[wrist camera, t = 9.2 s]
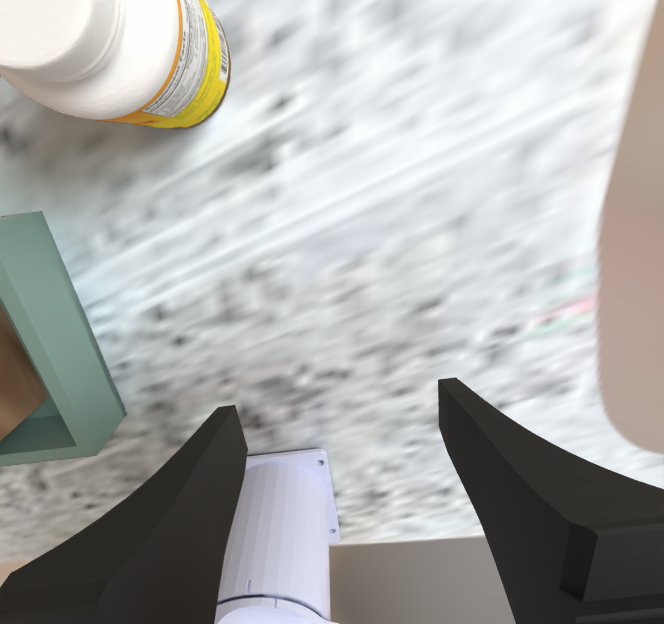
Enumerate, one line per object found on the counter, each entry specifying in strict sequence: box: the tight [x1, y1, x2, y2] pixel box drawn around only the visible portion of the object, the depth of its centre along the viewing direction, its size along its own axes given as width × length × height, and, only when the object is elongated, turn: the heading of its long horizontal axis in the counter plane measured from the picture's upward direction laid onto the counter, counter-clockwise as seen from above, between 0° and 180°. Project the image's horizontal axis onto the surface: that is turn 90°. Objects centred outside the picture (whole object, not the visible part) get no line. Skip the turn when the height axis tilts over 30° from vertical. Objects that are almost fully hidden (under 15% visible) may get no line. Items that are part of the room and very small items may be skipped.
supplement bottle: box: [0, 0, 232, 129], centre depth 12 cm, size 6×6×10 cm
